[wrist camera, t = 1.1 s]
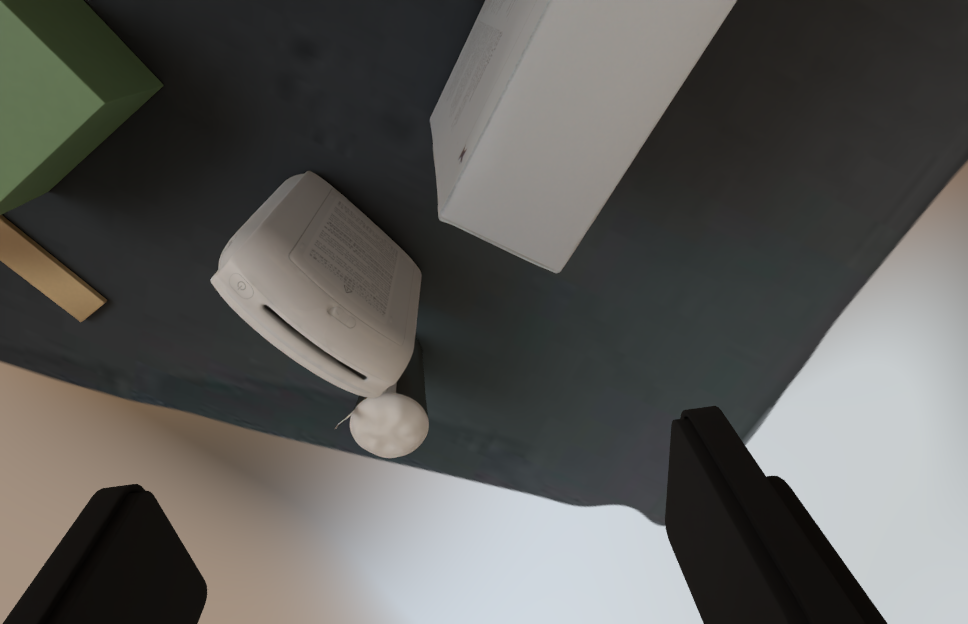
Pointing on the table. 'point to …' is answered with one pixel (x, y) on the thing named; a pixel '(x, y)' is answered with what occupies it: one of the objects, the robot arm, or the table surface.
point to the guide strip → (47, 272)
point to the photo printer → (324, 286)
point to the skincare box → (557, 113)
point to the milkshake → (394, 414)
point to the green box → (59, 92)
